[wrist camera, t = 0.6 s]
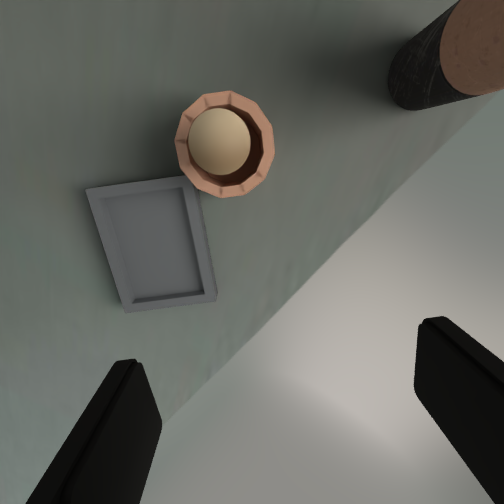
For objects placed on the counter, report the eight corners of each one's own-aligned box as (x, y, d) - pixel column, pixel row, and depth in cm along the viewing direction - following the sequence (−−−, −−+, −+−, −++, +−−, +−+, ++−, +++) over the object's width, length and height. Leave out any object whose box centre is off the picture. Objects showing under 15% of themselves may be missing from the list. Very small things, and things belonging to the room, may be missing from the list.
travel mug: (405, 128, 31) (658, 74, 12) (372, 68, 29) (612, -109, 10) (466, 81, 30) (858, -63, 11) (435, 14, 28) (851, -308, 9)
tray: (96, 187, 32) (84, 189, 30) (194, 173, 32) (190, 174, 30) (132, 303, 37) (125, 313, 35) (217, 292, 37) (215, 301, 35)
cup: (183, 113, 30) (165, 99, 23) (262, 102, 30) (268, 85, 23) (198, 194, 33) (187, 202, 26) (271, 184, 33) (278, 190, 26)
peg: (206, 132, 30) (182, 113, 18) (245, 126, 30) (246, 103, 18) (213, 172, 31) (195, 178, 20) (250, 167, 31) (254, 170, 20)
